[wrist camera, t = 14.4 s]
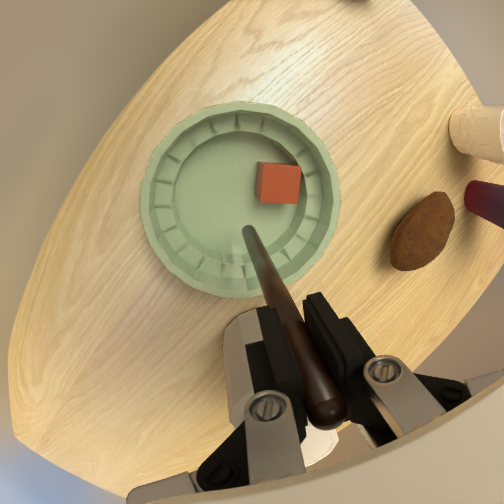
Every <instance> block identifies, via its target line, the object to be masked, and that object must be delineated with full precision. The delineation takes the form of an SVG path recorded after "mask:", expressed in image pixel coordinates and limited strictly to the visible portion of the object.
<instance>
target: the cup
mask: <svg viewBox="0 0 504 504" xmlns="http://www.w3.org/2000/svg"><path fill="white" fill-rule="evenodd" d="M465 205H466V208H467V209H468V211H470V212H472V213H474V214H476V215H478V216H480V217H482V218H484V219H486V220H488V221H490V222H492V223H494V224H495V225H497V226H499V227H501V228H503V229H504V186H503V185H498V184H493V183H488V182H482V181H477V180H474V181H471V182H470V183H469V185H468V186H467V188H466V191H465Z"/></svg>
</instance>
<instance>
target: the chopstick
mask: <svg viewBox="0 0 504 504" xmlns="http://www.w3.org/2000/svg"><path fill="white" fill-rule="evenodd" d="M242 236H243V239H244V241H245V244H246V247H247V250H248V253H249V256H250V258H251V261H252V264H253V267H254V270H255V272H256V275H257V278H258V281H259V284H260V286H261V289H262V292H263V295H264V298H265V300H266V303H267V305H270V308H274V307H276V309H277V312H278V314H279V317H280V320H281V322H282V325H283V327H284V330H285V332H286V335H287V337H288V340H289V342H290V345H291V347H292V350H293V353H294V355H295V358H296V360H297V363H298V365H299V368H300V371H301V374H302V379H303V386H304V394H305V401H304V409H305V412H306V415H307V417H308V420H309V422H310V423H311V424H312V426H314V427H315V428H317V429H319V430H323V431H329V430H333V429H335V428H337V427H339V426H340V425H341V424H342V423H343V422H344V420H345V419H346V416H347V405H346V402H345V400H344V398H343V396H342V394H341V392H340V390H339V389H338V387H337V385H336V383H335V381H334V379H333V377H332V375H331V374H330V372H329V370H328V368H327V366H326V364H325V362H324V360H323V358H322V356H321V354H320V352H319V350H318V348H317V346H316V344H315V342H314V340H313V338H312V336H311V334H310V333H309V331H308V329H307V327H306V325H305V322H304V320H303V318H302V316H301V315H300V313H299V311H298V309H297V307H296V305H295V303H294V301H293V299H292V297H291V296H290V294H289V292H288V290H287V288H286V286H285V284H284V282H283V280H282V278H281V277H280V275H279V273H278V271H277V269H276V267H275V265H274V263H273V261H272V260H271V258H270V256H269V254H268V252H267V250H266V248H265V246H264V245H263V243H262V241H261V239H260V237H259V235H258V233H257V231H256V230H255V228H254V227H253V226H252V225H246V226H244V227H243V228H242Z"/></svg>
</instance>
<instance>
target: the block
mask: <svg viewBox="0 0 504 504" xmlns="http://www.w3.org/2000/svg"><path fill="white" fill-rule="evenodd" d="M301 169H302V167H301V166H297V165H293V164H285V163H274V162H261V161H257V172H256V185H255V197H256V198H257V199H258V200H259V201H260V202H263V203H281V204H298V198H299V189H300V179H301Z"/></svg>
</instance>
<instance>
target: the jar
mask: <svg viewBox="0 0 504 504" xmlns="http://www.w3.org/2000/svg"><path fill="white" fill-rule="evenodd" d="M262 340H263V337H262V333H261V329H260V324H259V320H258V316H257V311H256V309H253V310H251V311H248V312H245V313H243V314H240V315H238V316H237V317H236V318H235V319H234V320H233V321H232V322H231V324H230V325H229V326H228V327H227V328H226V329H225V332H224V339H223V358H224V369H225V380H226V390H227V400H228V409H229V419H230V422H231V424H232V425H233V426H234V427H235V429H236V428H237V427H238V426H239V425H240V424H241V423H242V422H243V421H244V420H245V415H244V409H245V405H246V403H247V401H248V400H249V399H250V398H251V397H252V396H253V395H254V390H253V385H252V380H251V375H250V370H249V365H248V360H247V355H246V349H245V344H249V343H253V342H258V341H262ZM307 420H308V417H307ZM306 435H307V436H306V438H305V439H304V441H303V442H302V443H301V445H300V446H301V450H302V455H303V459H304V464H305V467H306V466H309V465H312V464H314V463H316V462H317V461H319V460H320V459H322V458H324V457H325V456H327V455H328V454H329V453H331V451H332V450H333V448H334V447H335V445H336V444H337V442H338V441H339V439H338V436H337V432H336V429H333V430H329V431H323V430H319V429H317V428H315V427H314V426H312V424H311V423H310V422H309V420H308V426H306Z"/></svg>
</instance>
